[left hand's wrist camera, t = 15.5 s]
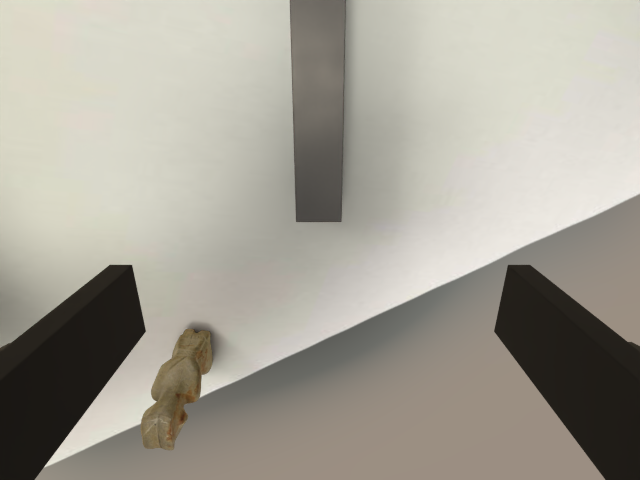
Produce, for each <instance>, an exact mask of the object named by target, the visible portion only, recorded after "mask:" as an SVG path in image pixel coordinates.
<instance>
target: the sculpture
mask: <svg viewBox="0 0 640 480" xmlns="http://www.w3.org/2000/svg"><path fill="white" fill-rule="evenodd" d="M210 336H211V334H210V332H209V331H204V330H201V331H200V332H198V333H195V330H194V329H186V330H185V331H184V333H183V335H181V336H180V337H179V339H178V341H177V343H176V345H175V348H174V350H173V355H172V359H170V360H169V361H167V362H166V363H164V364H163V365H162V366H161V368H160V370H159V372H158V374H157V377H156V379H155V381H154V384H153V386H152V390H151V395H152V398H153V399H154V400H155V401H157V402H156V403H155V404H154V405H153V406H151V407H150V408H149V409H147V410H146V411H145V413H144V414H143V417H142V422H141V434H142V440H143V445H144V447H145V448H147V449H154V448H163V449H165V450H173V449H174V443H175V440H176V438H177V436H178V434H179V432H180V430H181V428H182V426H183V425H184V423H185V422H186V421H187V419H188V415H187V413H186V412H185V410H184V408H183V407H184V405H185V404H187V403H193V402H196V401H197V400H198V399H199V397H200V392H201V375H204V374H206V373H208V372H209V370H210V368H211V366H212V361H213V357H212V350H211V345H210Z"/></svg>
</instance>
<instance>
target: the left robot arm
mask: <svg viewBox="0 0 640 480" xmlns="http://www.w3.org/2000/svg"><path fill="white" fill-rule="evenodd" d="M145 332H146V330H145V325H144V320H143V316H142V311H141V306H140V301H139V296H138V292H137V287H136V282H135V277H134V272H133V268H132V265H109V266H108V267H107V268H106V269H104V270H103V271H102V272H100V273H99V274H98V275H97V276H95V277H94V278H93V279H92V280H90V281H89V282H88V283H87V284H85V285H84V286H83V287H81V288H80V289H79V290H78V291H76V292H75V293H74V294H73V295H71V296H70V297H69V298H68V299H66V300H65V301H64V302H62V303H61V304H60V305H59V306H57V307H56V308H55V309H54V310H52V311H51V312H50V313H49V314H47V315H46V316H45V317H43V318H42V319H41V320H40V321H38V322H37V323H36V324H35V325H33V326H32V327H31V328H30V329H28V330H27V331H26V332H24V333H23V334H22V335H21V336H19V337H18V338H17V339H16V340H14V341H13V342H12V343H9V344H7V345H5V346H3V347H1V348H0V480H35V478H36V477H37V476H38V474H39V473H40V472H41V470H42V469H43V468H44V466H45V465H46V464H47V462H48V461H49V460H50V458H51V457H52V456H53V454H54V453H55V452H56V450H57V449H58V448H59V446H60V445H61V444H62V442H63V441H64V440H65V438H66V437H67V436H68V434H69V433H70V432H71V430H72V429H73V428H74V426H75V425H76V424H77V422H78V421H79V420H80V418H81V417H82V416H83V414H84V413H85V412H86V410H87V409H88V408H89V406H90V405H91V404H92V402H93V401H94V400H95V398H96V397H97V396H98V394H99V393H100V392H101V390H102V389H103V388H104V386H105V385H106V384H107V382H108V381H109V380H110V378H111V377H112V376H113V374H114V373H115V372H116V370H117V369H118V368H119V366H120V365H121V364H122V362H123V361H124V360H125V358H126V357H127V356H128V354H129V353H130V352H131V350H132V349H133V348H134V346H135V345H136V344H137V342H138V341H139V340H140V338H141V337H142V336H143V334H144V333H145ZM494 332H495V333H496V334H497V336H498V337H499V338H500V340H501V341H502V342H503V344H504V345H505V346H506V348H507V349H508V350H509V352H510V353H511V354H512V356H513V357H514V358H515V360H516V361H517V362H518V364H519V365H520V366H521V368H522V369H523V370H524V372H525V373H526V374H527V376H528V377H529V378H530V380H531V381H532V382H533V384H534V385H535V386H536V388H537V389H538V390H539V392H540V393H541V394H542V396H543V397H544V398H545V400H546V401H547V402H548V404H549V405H550V406H551V408H552V409H553V410H554V412H555V413H556V414H557V416H558V417H559V418H560V420H561V421H562V422H563V424H564V425H565V426H566V428H567V429H568V430H569V432H570V433H571V434H572V436H573V437H574V438H575V440H576V441H577V442H578V444H579V445H580V446H581V448H582V449H583V450H584V452H585V453H586V454H587V456H588V457H589V458H590V460H591V461H592V462H593V464H594V465H595V466H596V468H597V469H598V470H599V472H600V473H601V474H602V476H603V477H604V478H605V480H640V346H638V345H636V344H634V343H632V342H627V341H626V340H624V339H623V338H622V337H621V336H619V335H618V334H617V333H616V332H614V331H613V330H612V329H610V328H609V327H608V326H607V325H605V324H604V323H603V322H602V321H600V320H599V319H598V318H597V317H595V316H594V315H593V314H591V313H590V312H589V311H588V310H586V309H585V308H584V307H583V306H581V305H580V304H579V303H577V302H576V301H575V300H574V299H572V298H571V297H570V296H569V295H567V294H566V293H565V292H564V291H562V290H561V289H560V288H559V287H557V286H556V285H555V284H553V283H552V282H551V281H550V280H548V279H547V278H546V277H545V276H543V275H542V274H541V273H539V272H538V271H537V270H536V269H534V268H533V267H532V266H531V265H508V268H507V273H506V277H505V282H504V287H503V292H502V296H501V301H500V306H499V311H498V316H497V320H496V325H495V330H494Z"/></svg>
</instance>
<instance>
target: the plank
mask: <svg viewBox="0 0 640 480" xmlns="http://www.w3.org/2000/svg"><path fill="white" fill-rule="evenodd" d="M345 7H346V0H290V22H291V57H292V92H293V126H294V161H295V196H296V222H341V216H342V164H343V112H344V60H345Z"/></svg>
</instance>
